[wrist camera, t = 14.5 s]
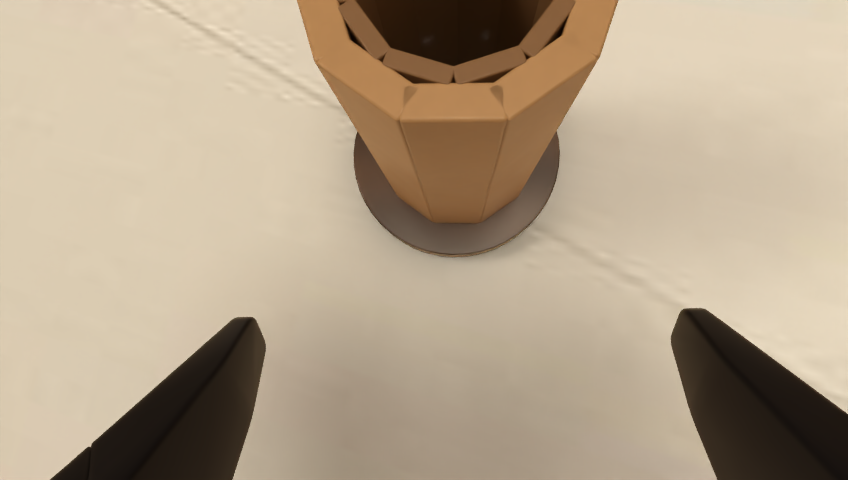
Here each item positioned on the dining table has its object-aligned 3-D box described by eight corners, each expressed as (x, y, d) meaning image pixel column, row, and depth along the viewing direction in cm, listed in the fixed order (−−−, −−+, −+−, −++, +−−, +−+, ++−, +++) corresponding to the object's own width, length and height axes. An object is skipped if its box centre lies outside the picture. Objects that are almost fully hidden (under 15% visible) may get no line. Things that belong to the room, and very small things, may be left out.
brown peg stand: (541, 270, 23) (564, 263, 18) (343, 241, 24) (312, 226, 19) (565, 78, 24) (594, 19, 19) (375, 57, 25) (354, -5, 20)
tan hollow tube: (474, 254, 22) (496, 192, 9) (358, 167, 23) (227, 0, 10) (560, 140, 22) (697, -74, 9) (441, 60, 23) (419, -235, 10)
